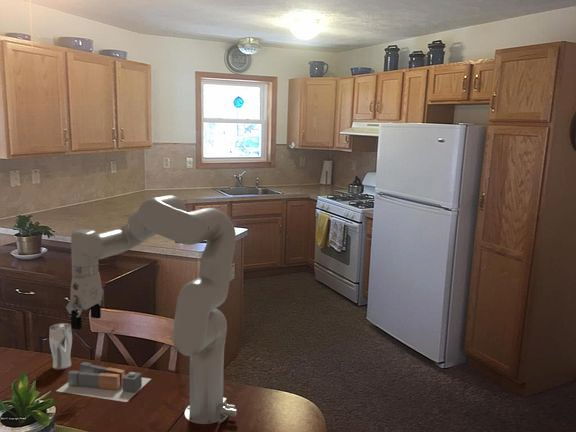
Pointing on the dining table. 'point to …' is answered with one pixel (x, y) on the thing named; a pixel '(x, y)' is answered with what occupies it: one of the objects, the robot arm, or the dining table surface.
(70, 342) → the beer glass
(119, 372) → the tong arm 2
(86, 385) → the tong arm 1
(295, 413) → the dining table surface
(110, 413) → the dining table surface
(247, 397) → the dining table surface
